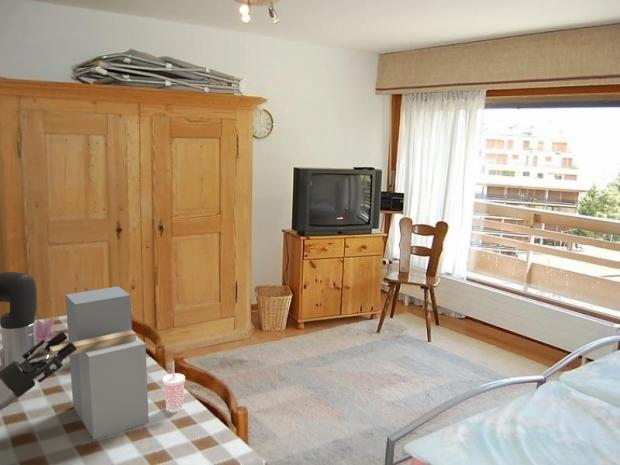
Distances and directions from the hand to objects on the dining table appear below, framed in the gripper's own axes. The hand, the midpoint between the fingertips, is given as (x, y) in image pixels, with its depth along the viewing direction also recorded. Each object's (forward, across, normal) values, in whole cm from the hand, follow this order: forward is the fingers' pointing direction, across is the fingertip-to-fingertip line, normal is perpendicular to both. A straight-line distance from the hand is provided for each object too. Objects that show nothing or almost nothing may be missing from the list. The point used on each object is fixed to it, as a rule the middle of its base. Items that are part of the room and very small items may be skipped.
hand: (69, 339), depth 129 cm
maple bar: (+3, 0, -6) cm, 7 cm away
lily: (-9, -66, -25) cm, 71 cm away
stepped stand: (-4, -5, -27) cm, 28 cm away
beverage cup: (+9, +2, -35) cm, 36 cm away
